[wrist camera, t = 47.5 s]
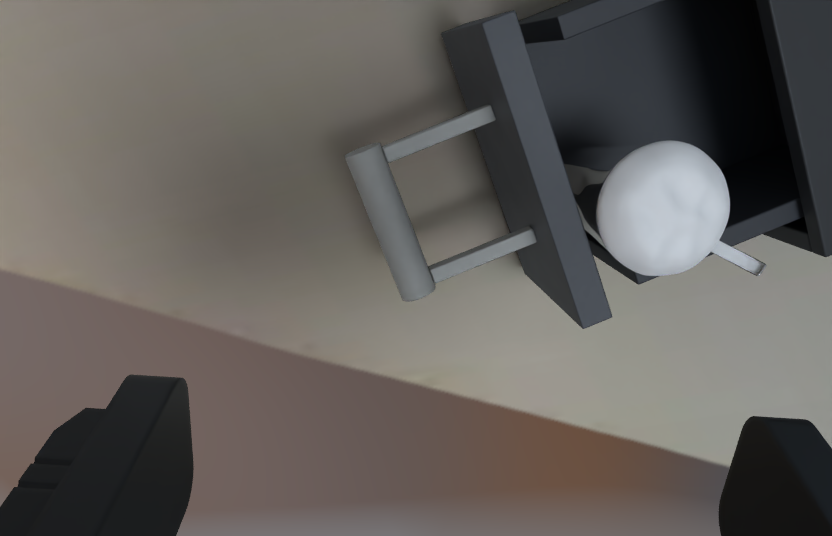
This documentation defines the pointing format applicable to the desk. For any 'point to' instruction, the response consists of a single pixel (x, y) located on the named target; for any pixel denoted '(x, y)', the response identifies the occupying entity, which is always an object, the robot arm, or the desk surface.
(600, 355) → the desk surface
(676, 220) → the milkshake
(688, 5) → the drawer
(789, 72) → the small filing cabinet
